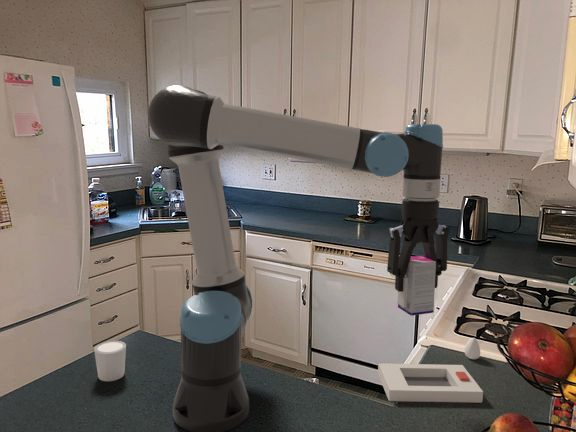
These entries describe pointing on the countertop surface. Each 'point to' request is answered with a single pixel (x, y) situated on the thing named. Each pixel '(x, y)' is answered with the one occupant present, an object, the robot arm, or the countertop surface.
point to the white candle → (110, 360)
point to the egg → (472, 349)
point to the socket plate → (429, 383)
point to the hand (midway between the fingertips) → (415, 303)
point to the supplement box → (420, 286)
